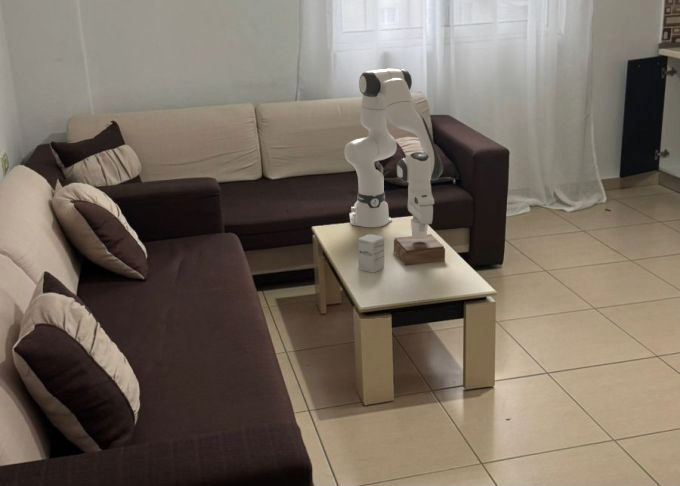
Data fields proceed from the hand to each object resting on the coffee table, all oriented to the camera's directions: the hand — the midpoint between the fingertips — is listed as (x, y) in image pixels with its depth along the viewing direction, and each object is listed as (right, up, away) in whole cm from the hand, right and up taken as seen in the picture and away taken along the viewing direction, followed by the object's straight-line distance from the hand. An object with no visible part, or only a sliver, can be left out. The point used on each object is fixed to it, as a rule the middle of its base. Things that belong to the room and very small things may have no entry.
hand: (419, 228), depth 338 cm
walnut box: (0, -11, +4) cm, 12 cm away
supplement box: (-19, -16, -7) cm, 26 cm away
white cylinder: (0, -3, +1) cm, 4 cm away
